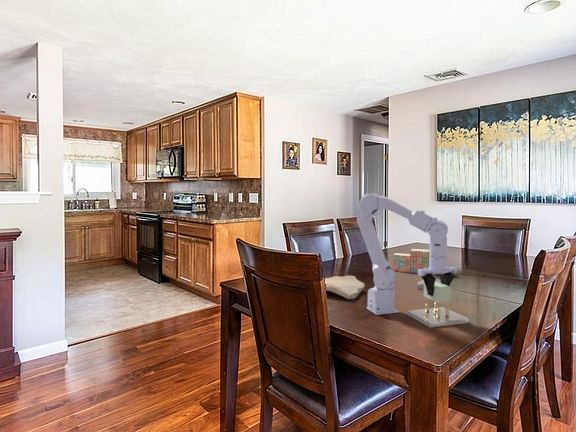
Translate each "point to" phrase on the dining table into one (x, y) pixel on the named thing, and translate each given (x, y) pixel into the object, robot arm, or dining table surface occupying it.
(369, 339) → the dining table surface
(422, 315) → the base plate
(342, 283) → the cream rock
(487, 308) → the dining table surface
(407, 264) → the stack of blocks
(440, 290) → the block
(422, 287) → the stone block
